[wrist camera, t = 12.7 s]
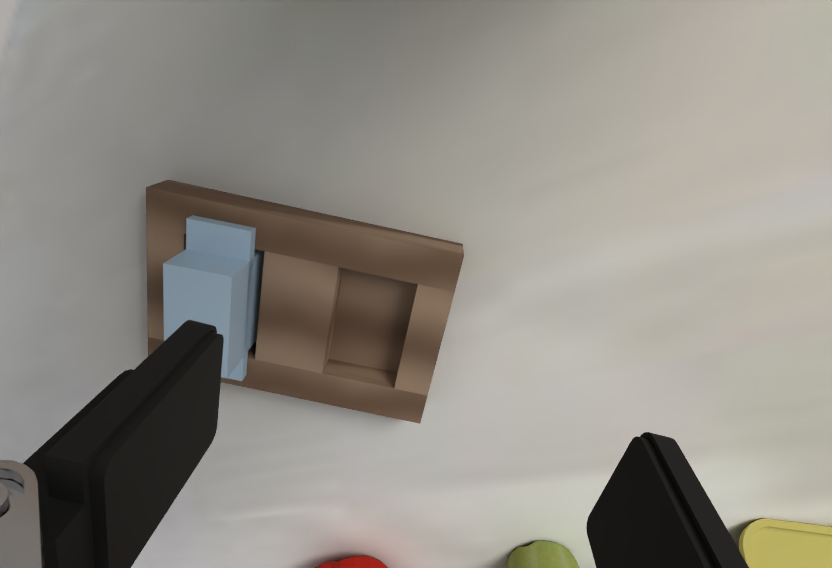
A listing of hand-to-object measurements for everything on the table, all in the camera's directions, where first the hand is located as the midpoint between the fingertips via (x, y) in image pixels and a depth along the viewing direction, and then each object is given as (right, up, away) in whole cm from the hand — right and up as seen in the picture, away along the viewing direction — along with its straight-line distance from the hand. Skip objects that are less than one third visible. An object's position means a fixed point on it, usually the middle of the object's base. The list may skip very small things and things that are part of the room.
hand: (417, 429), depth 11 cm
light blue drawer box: (-13, +3, +23) cm, 27 cm away
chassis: (-8, +2, +24) cm, 25 cm away
